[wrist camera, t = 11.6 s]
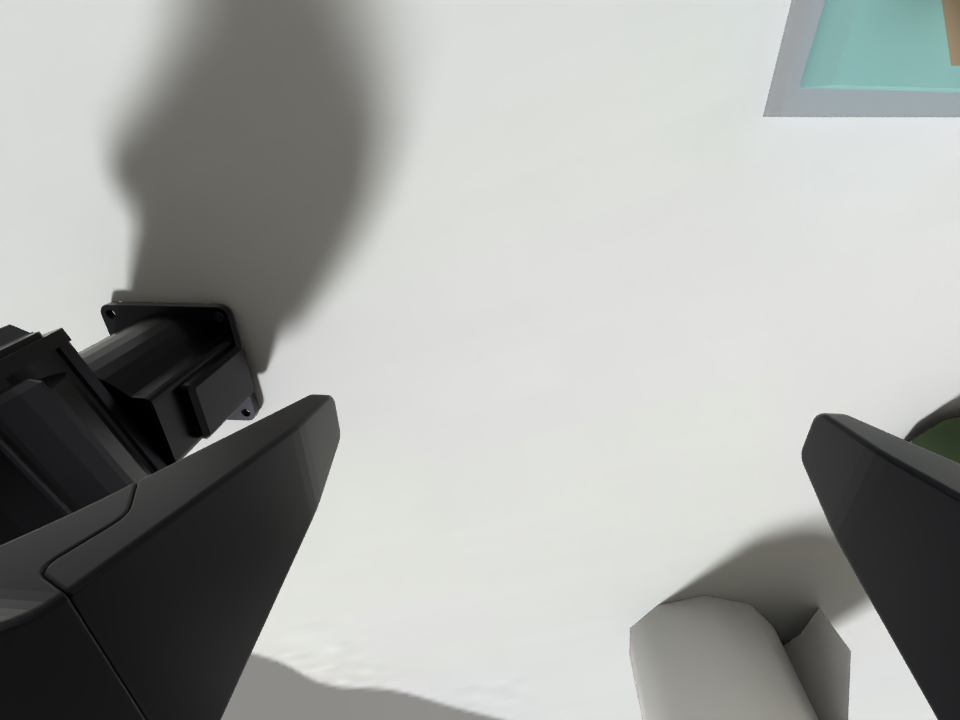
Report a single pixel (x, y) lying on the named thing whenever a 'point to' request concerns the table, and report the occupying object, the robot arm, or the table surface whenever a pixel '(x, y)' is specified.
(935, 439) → the character mug
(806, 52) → the slate slab
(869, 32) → the teal slab
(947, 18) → the walnut pillar
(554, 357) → the table surface
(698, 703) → the toilet tissue
